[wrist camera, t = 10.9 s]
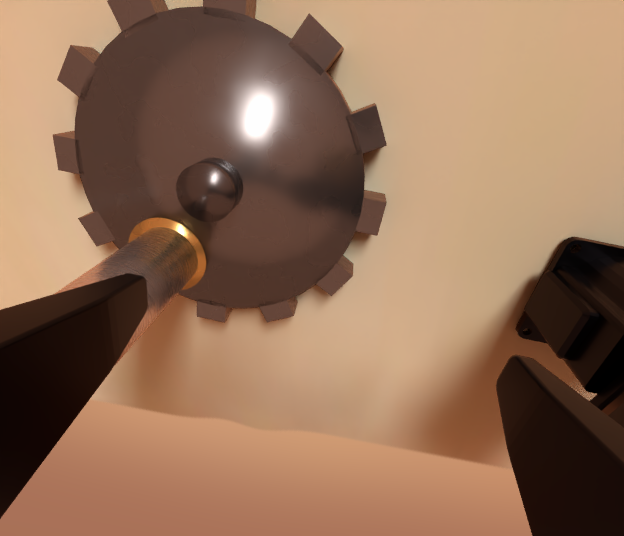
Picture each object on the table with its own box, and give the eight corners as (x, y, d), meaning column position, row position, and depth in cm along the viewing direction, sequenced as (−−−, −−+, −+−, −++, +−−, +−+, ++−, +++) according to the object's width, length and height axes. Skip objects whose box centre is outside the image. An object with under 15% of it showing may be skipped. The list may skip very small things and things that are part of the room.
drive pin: (188, 225, 20) (17, 365, 10) (204, 283, 21) (70, 452, 11) (128, 228, 20) (-90, 364, 10) (148, 284, 22) (-25, 447, 12)
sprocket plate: (432, 21, 15) (447, 8, 13) (346, 333, 24) (344, 366, 21) (47, -52, 16) (-18, -79, 13) (94, 279, 24) (60, 304, 21)
